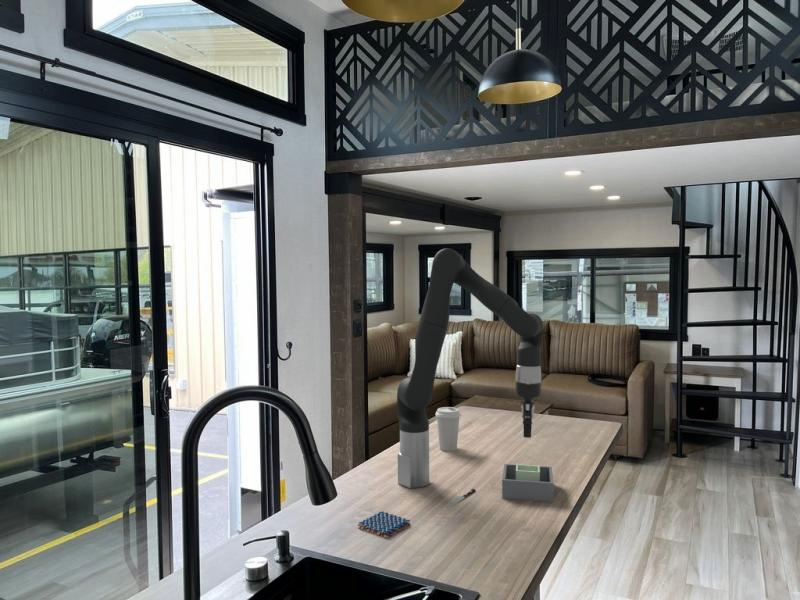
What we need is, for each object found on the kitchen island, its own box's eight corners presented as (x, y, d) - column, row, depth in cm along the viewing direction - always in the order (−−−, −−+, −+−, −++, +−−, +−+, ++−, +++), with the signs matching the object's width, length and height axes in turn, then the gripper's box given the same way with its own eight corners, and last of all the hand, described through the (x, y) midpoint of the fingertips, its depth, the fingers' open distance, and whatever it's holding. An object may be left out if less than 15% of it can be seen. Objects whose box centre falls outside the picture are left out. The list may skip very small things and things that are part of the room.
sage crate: (539, 492, 172) (539, 472, 172) (515, 490, 174) (515, 470, 174) (539, 484, 178) (539, 465, 178) (516, 483, 180) (516, 464, 179)
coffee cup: (462, 452, 214) (461, 412, 213) (436, 452, 214) (435, 412, 213) (459, 444, 223) (459, 406, 223) (435, 445, 224) (434, 406, 223)
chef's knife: (434, 511, 163) (443, 513, 161) (434, 507, 163) (443, 509, 161) (467, 490, 178) (476, 491, 176) (467, 486, 178) (476, 488, 176)
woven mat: (381, 516, 160) (381, 509, 160) (412, 526, 153) (411, 518, 153) (355, 529, 152) (355, 522, 152) (386, 541, 145) (386, 533, 145)
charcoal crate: (553, 502, 167) (553, 483, 167) (502, 498, 170) (502, 479, 170) (551, 484, 181) (551, 466, 181) (504, 480, 185) (504, 463, 184)
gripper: (516, 375, 182) (515, 426, 182) (514, 383, 168) (513, 439, 169) (541, 376, 180) (540, 428, 181) (541, 385, 166) (540, 440, 167)
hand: (527, 433), depth 175 cm, fingers open, 8 cm apart
